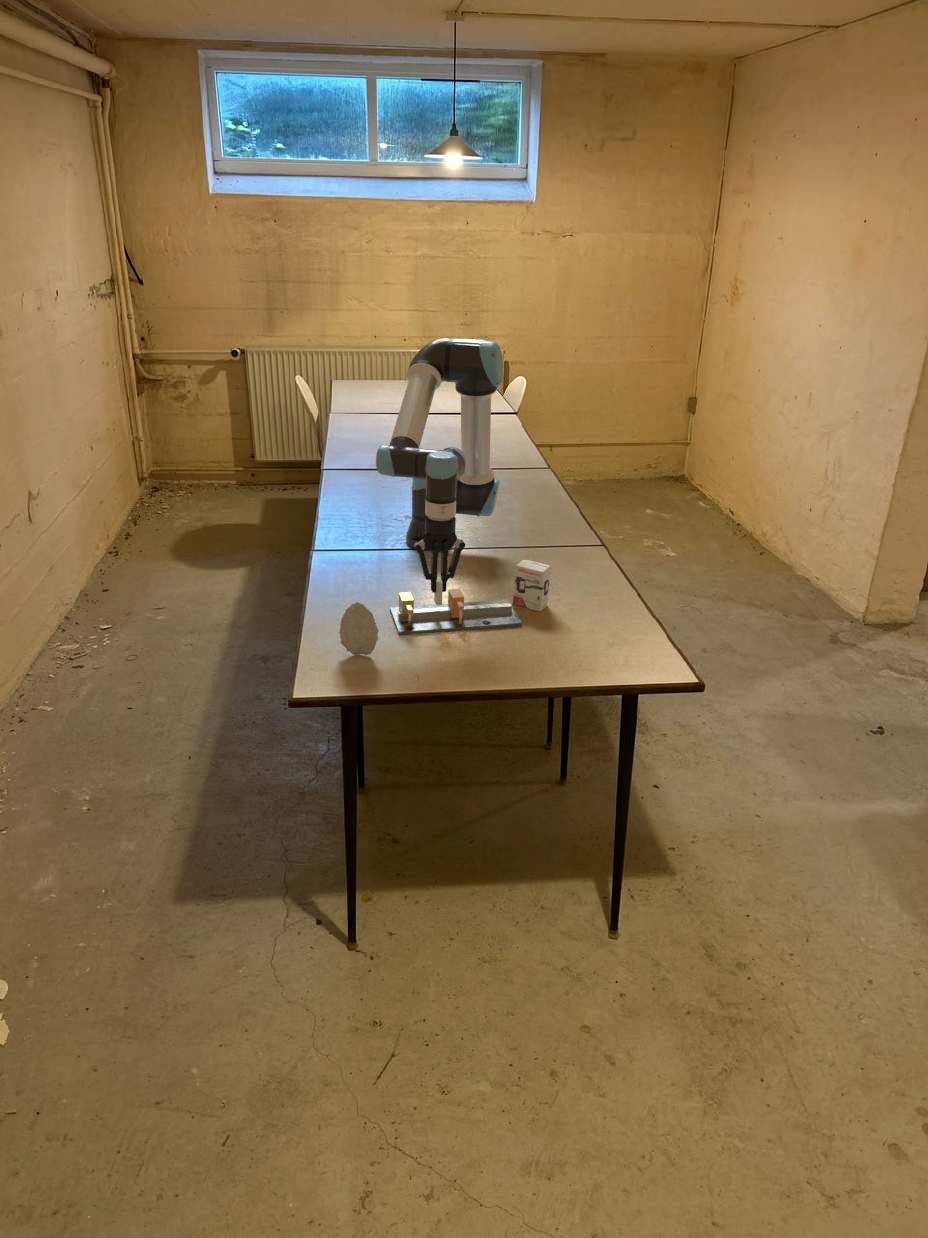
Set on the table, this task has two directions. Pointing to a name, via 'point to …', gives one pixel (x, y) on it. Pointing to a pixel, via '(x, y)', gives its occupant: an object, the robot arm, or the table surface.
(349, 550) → the table surface
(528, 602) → the ink box
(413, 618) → the rail
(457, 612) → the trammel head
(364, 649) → the stone tool
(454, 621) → the hole plate
